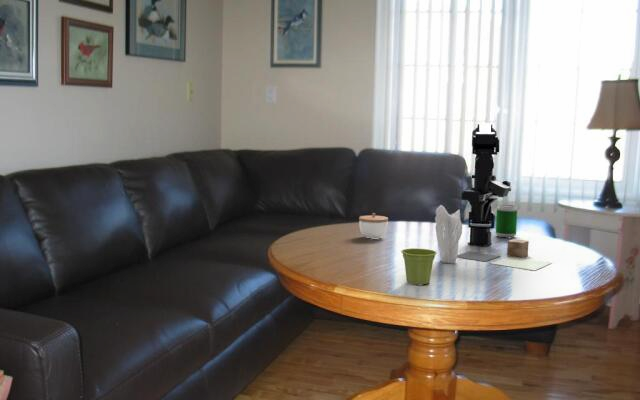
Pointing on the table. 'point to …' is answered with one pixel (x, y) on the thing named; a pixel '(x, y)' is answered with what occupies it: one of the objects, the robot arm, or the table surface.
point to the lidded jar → (373, 225)
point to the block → (517, 248)
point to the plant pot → (418, 265)
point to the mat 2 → (521, 263)
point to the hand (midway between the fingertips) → (481, 220)
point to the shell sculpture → (448, 234)
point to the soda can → (506, 221)
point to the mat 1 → (477, 256)
